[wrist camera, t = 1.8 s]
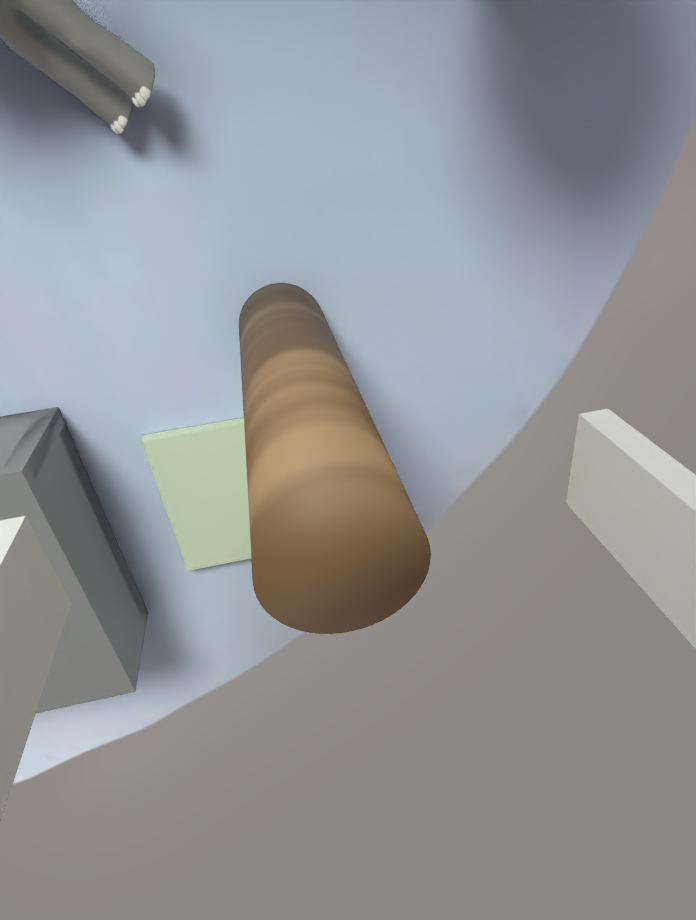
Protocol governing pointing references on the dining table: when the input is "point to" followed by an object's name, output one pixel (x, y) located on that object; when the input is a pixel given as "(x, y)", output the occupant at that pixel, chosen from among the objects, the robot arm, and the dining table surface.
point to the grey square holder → (73, 560)
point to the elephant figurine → (108, 57)
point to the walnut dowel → (319, 477)
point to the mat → (204, 490)
